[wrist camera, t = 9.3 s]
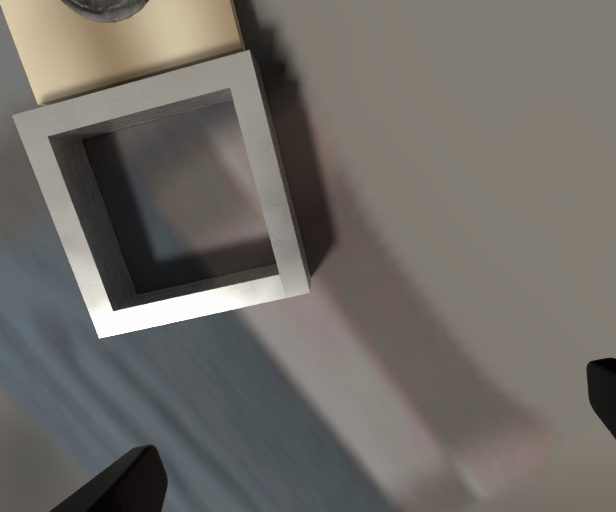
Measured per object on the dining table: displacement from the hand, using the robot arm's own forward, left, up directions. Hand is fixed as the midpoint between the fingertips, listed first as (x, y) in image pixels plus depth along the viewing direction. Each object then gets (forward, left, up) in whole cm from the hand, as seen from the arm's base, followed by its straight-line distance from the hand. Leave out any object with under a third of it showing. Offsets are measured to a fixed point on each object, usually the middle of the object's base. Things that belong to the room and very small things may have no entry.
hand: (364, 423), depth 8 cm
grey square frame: (+7, -5, -13) cm, 16 cm away
